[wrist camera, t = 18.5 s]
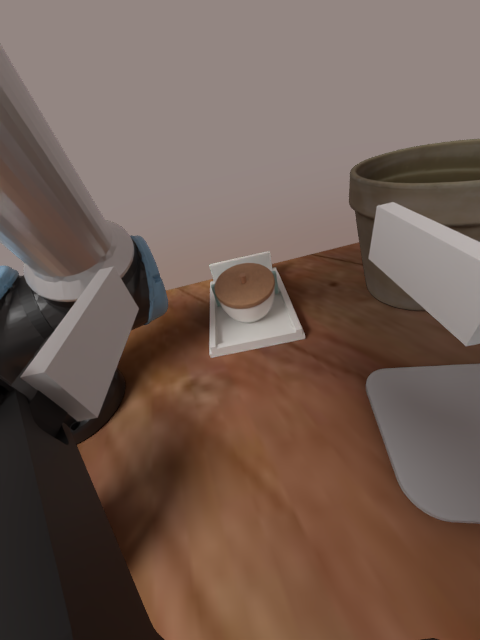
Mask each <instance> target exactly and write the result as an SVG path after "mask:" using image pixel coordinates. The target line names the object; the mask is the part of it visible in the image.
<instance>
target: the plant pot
mask: <svg viewBox="0 0 480 640" xmlns="http://www.w3.org/2000/svg"><path fill="white" fill-rule="evenodd" d="M391 202H394V203H396V204H399V205H401V206H403V207H405V208H407V209H409V210H412V211H414V212H416V213H418V214H420V215H422V216H425V217H427V218H429V219H431V220H433V221H435V222H437V223H440V224H442V225H444V226H446V227H448V228H450V229H453V230H455V231H457V232H459V233H461V234H463V235H465V236H468V237H470V238H472V239H474V240H478V241H480V139H470V140H459V141H451V142H442V143H435V144H428V145H422V146H416V147H411V148H406V149H401V150H397V151H393V152H389V153H385V154H382V155H379V156H375V157H372V158H369V159H367V160H364V161H362V162H360V163H359V164H357V165H355V166H354V167H353V168H352V169H351V172H350V189H349V204H350V206H351V208H352V209H353V210H355V214H356V222H357V229H358V236H359V242H360V249H361V255H362V261H363V268H364V275H365V280H366V285H367V288H368V290H369V292H370V293H371V294H372V295H373V296H374V297H375V298H376V299H378V300H379V301H381V302H383V303H385V304H388V305H390V306H393V307H397V308H402V309H407V310H425V309H424V308H423V307H422V306H421V305H420V304H418V303H417V302H416V301H415V300H414V299H413V298H412V297H411V296H409V295H408V294H407V293H406V292H405V291H404V290H403V289H402V288H401V287H399V286H398V285H397V284H396V283H395V282H394V281H393V280H392V279H391V278H389V277H388V276H387V275H386V274H385V273H384V272H383V271H382V270H381V269H379V268H378V267H377V266H376V265H375V264H374V263H373V262H372V261H371V260H369V259H368V258H369V252H370V246H371V239H372V233H373V227H374V221H375V215H376V208H377V206H378V205H383V204H387V203H391Z"/></svg>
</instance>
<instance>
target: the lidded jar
mask: <svg viewBox="0 0 480 640" xmlns="http://www.w3.org/2000/svg"><path fill="white" fill-rule="evenodd" d="M214 288H215V294H216V296H217V298H218V300H219V302H220V305H221V306H222V308H223V310H224V311H225V312H226V314H227V315H228V316H230V317H231V318H232V319H234V320H237V321H239V322H247V323H250V322H255V321H257V320H259V319H261V318H263V317H264V316H265V315H266V314H267V313H268V312H269V310H270V309H271V307H272V305H273V301H274V296H275V279H274V275H273V273H272V272H271V271H270V270H269V269H268V268H267V267H265V266H263V265H260V264H256V263H243V264H238V265H235V266H232V267H230V268H228V269H227V270H225V271H224V272H223V273H222V274H221V275H220V276H219V277H218V279H217V280H216V283H215V287H214Z"/></svg>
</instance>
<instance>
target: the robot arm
mask: <svg viewBox="0 0 480 640" xmlns="http://www.w3.org/2000/svg"><path fill="white" fill-rule="evenodd" d="M0 243H2V244H3V245H4V246H5V247H7V248H8V249H9V250H10V251H11V252H12V253H14V254H15V255H16V256H17V257H18V258H19V259H21V260H22V261H23V262H24V276H19V273H18V272H17V271H16V270H14V269H12V268H10V267H8V266H0V640H164V639H163V638H162V637H161V636H160V635H159V634H158V633H157V632H156V630H155V629H154V627H153V625H152V623H151V621H150V619H149V617H148V614H147V612H146V610H145V607H144V605H143V603H142V600H141V598H140V595H139V593H138V591H137V588H136V586H135V583H134V581H133V579H132V576H131V574H130V572H129V569H128V567H127V564H126V562H125V560H124V557H123V555H122V552H121V550H120V548H119V545H118V543H117V540H116V538H115V536H114V533H113V531H112V529H111V526H110V524H109V521H108V519H107V517H106V514H105V512H104V509H103V507H102V505H101V502H100V500H99V498H98V495H97V493H96V490H95V488H94V486H93V483H92V481H91V478H90V476H89V474H88V471H87V469H86V466H85V464H84V462H83V459H82V457H81V455H80V452H79V450H78V447H77V445H76V444H78V443H80V442H82V441H83V440H85V439H87V438H88V437H90V436H91V435H93V434H94V433H95V432H96V431H98V430H99V429H100V428H101V427H102V426H103V425H104V424H105V423H106V422H107V421H108V420H109V419H110V418H111V416H112V415H113V414H114V412H115V411H116V409H117V408H118V406H119V404H120V403H121V400H122V398H123V395H124V392H125V379H124V376H123V375H122V373H121V372H120V371H119V370H118V368H117V365H118V363H119V360H120V357H121V355H122V352H123V350H124V347H125V344H126V342H127V339H128V336H129V334H130V331H131V330H133V329H135V328H138V327H140V326H142V325H147V324H149V323H150V322H151V321H152V320H154V319H156V318H158V317H160V316H162V315H164V314H165V312H166V311H167V309H168V299H167V295H166V291H165V287H164V284H163V282H162V279H161V278H160V274H159V271H158V267H157V265H156V262H155V260H154V258H153V255H152V253H151V251H150V249H149V247H148V245H147V243H146V241H145V240H144V239H143V238H142V237H141V236H130V235H129V234H128V233H127V232H126V230H125V229H123V228H122V227H121V226H119V225H118V224H116V223H114V222H111V221H108V220H105V219H104V218H103V216H102V214H101V212H100V211H99V209H98V207H97V206H96V204H95V202H94V201H93V199H92V197H91V195H90V194H89V192H88V190H87V189H86V187H85V185H84V184H83V182H82V180H81V179H80V177H79V175H78V174H77V172H76V171H75V169H74V167H73V165H72V164H71V162H70V160H69V159H68V157H67V155H66V154H65V152H64V150H63V148H62V147H61V145H60V143H59V142H58V140H57V138H56V137H55V135H54V133H53V132H52V130H51V128H50V126H49V125H48V123H47V122H46V120H45V118H44V116H43V115H42V113H41V111H40V110H39V108H38V106H37V105H36V103H35V101H34V100H33V98H32V96H31V95H30V93H29V91H28V89H27V88H26V86H25V85H24V83H23V81H22V79H21V78H20V76H19V74H18V73H17V71H16V69H15V68H14V66H13V64H12V63H11V61H10V59H9V57H8V56H7V54H6V52H5V51H4V49H3V47H2V46H1V44H0ZM368 259H369V260H371V261H372V262H373V263H374V264H375V265H376V266H377V267H378V268H379V269H381V270H382V271H383V272H384V273H385V274H386V275H387V276H388V277H389V278H391V279H392V280H393V281H394V282H395V283H396V284H397V285H398V286H399V287H401V288H402V289H403V290H404V291H405V292H406V293H407V294H408V295H409V296H411V297H412V298H413V299H414V300H415V301H416V302H417V303H418V304H420V305H421V306H422V307H423V308H424V309H425V310H426V311H427V312H428V313H430V314H431V315H432V316H433V317H434V318H435V319H436V320H437V321H438V322H440V323H441V324H442V325H443V326H444V327H445V328H446V329H447V330H448V331H450V332H451V333H452V334H453V335H454V336H455V337H456V338H457V339H458V340H460V341H461V342H462V343H463V344H464V345H465V346H470V345H475V344H480V241H478V240H474V239H472V238H470V237H468V236H465V235H463V234H461V233H459V232H457V231H455V230H453V229H450V228H448V227H446V226H444V225H442V224H440V223H437V222H435V221H433V220H431V219H429V218H427V217H425V216H422V215H420V214H418V213H416V212H414V211H412V210H409V209H407V208H405V207H403V206H401V205H399V204H396V203H394V202H391V203H387V204H383V205H378V206H377V208H376V215H375V221H374V227H373V233H372V239H371V246H370V252H369V258H368ZM422 640H438V639H435V638H430V639H422Z"/></svg>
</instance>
